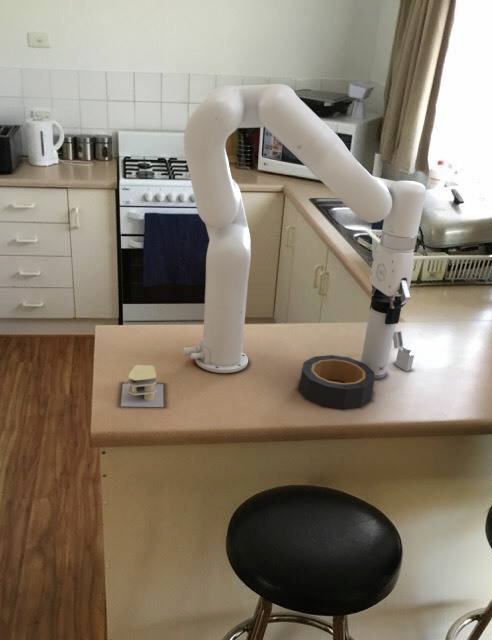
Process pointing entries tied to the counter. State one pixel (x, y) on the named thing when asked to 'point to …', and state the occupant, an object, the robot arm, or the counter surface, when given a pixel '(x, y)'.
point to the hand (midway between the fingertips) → (383, 316)
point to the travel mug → (378, 336)
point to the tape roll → (334, 392)
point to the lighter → (402, 352)
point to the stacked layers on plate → (142, 388)
